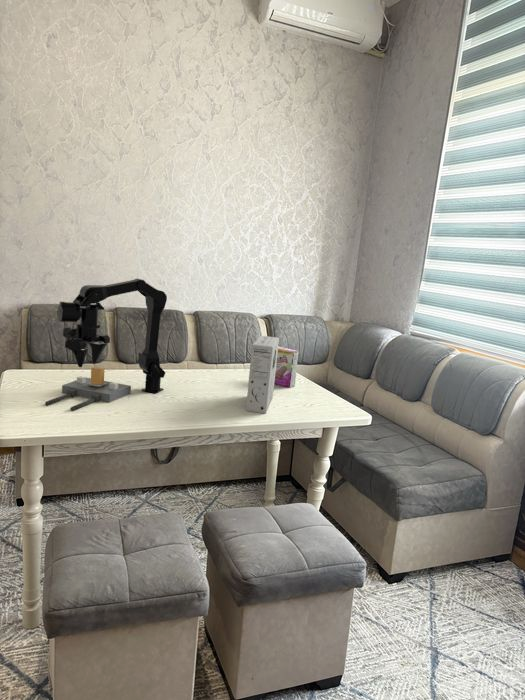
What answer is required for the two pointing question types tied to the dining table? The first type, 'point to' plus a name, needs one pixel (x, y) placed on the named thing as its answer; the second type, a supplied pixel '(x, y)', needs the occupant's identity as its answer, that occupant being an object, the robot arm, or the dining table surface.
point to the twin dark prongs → (68, 397)
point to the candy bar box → (286, 367)
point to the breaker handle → (97, 377)
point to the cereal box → (262, 374)
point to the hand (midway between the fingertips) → (87, 365)
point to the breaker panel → (96, 390)
